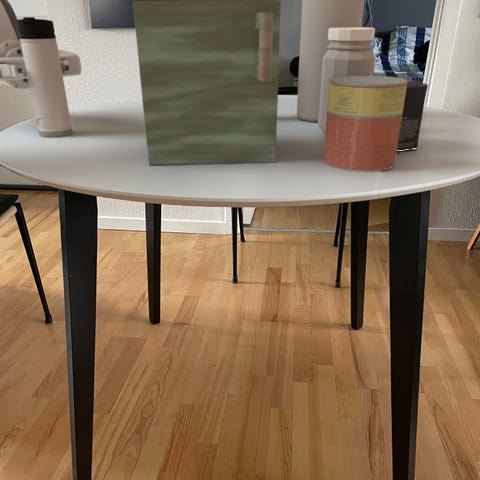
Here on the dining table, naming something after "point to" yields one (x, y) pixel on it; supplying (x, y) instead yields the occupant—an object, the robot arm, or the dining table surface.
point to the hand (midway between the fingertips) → (44, 69)
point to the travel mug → (45, 76)
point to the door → (209, 80)
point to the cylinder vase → (320, 46)
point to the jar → (345, 60)
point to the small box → (412, 115)
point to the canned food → (363, 122)
